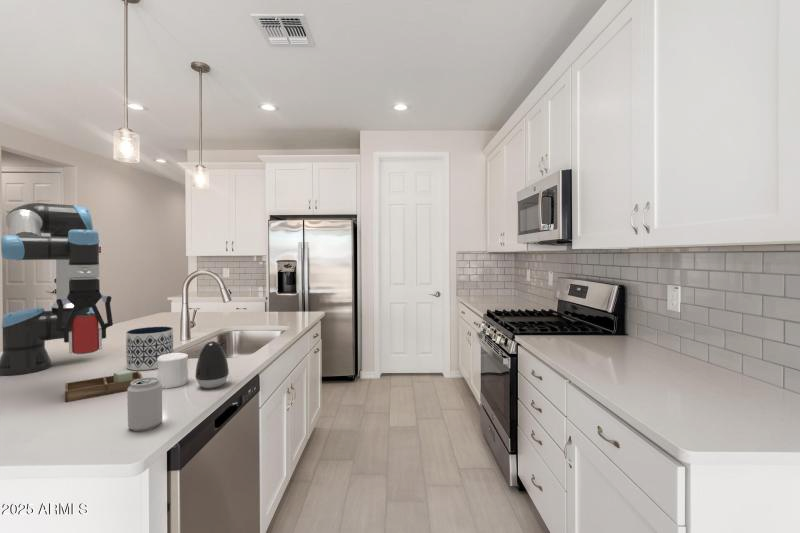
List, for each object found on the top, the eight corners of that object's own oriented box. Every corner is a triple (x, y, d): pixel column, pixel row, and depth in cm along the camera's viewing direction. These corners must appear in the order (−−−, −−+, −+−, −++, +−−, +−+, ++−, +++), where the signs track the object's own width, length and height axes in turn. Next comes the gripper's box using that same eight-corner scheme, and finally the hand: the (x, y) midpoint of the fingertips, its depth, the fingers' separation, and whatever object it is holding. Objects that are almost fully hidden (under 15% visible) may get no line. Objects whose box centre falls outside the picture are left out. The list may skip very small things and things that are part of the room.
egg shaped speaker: (235, 383, 133) (235, 339, 133) (209, 393, 124) (209, 346, 123) (215, 379, 137) (214, 337, 137) (188, 388, 128) (188, 343, 128)
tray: (65, 393, 123) (65, 383, 123) (139, 380, 136) (139, 371, 136) (65, 402, 116) (65, 391, 116) (143, 387, 129) (143, 378, 128)
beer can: (83, 355, 119) (83, 316, 118) (66, 354, 120) (65, 315, 120) (104, 350, 125) (103, 313, 125) (87, 349, 126) (87, 312, 126)
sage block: (113, 384, 129) (113, 372, 128) (127, 381, 132) (127, 370, 132) (118, 387, 126) (118, 374, 126) (132, 383, 130) (132, 372, 129)
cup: (165, 390, 126) (165, 361, 125) (150, 385, 131) (149, 357, 131) (194, 382, 134) (193, 355, 134) (178, 378, 139) (178, 351, 139)
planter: (148, 359, 164) (148, 326, 164) (182, 360, 162) (181, 327, 162) (116, 370, 149) (115, 333, 148) (153, 372, 146) (152, 334, 146)
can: (139, 420, 103) (138, 375, 103) (168, 419, 104) (167, 375, 103) (121, 433, 96) (120, 385, 95) (152, 432, 96) (152, 384, 96)
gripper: (41, 280, 113) (43, 358, 113) (123, 277, 125) (124, 348, 126) (43, 279, 118) (44, 353, 119) (121, 277, 131) (122, 344, 132)
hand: (85, 350), depth 122 cm, fingers closed on beer can, 7 cm apart
